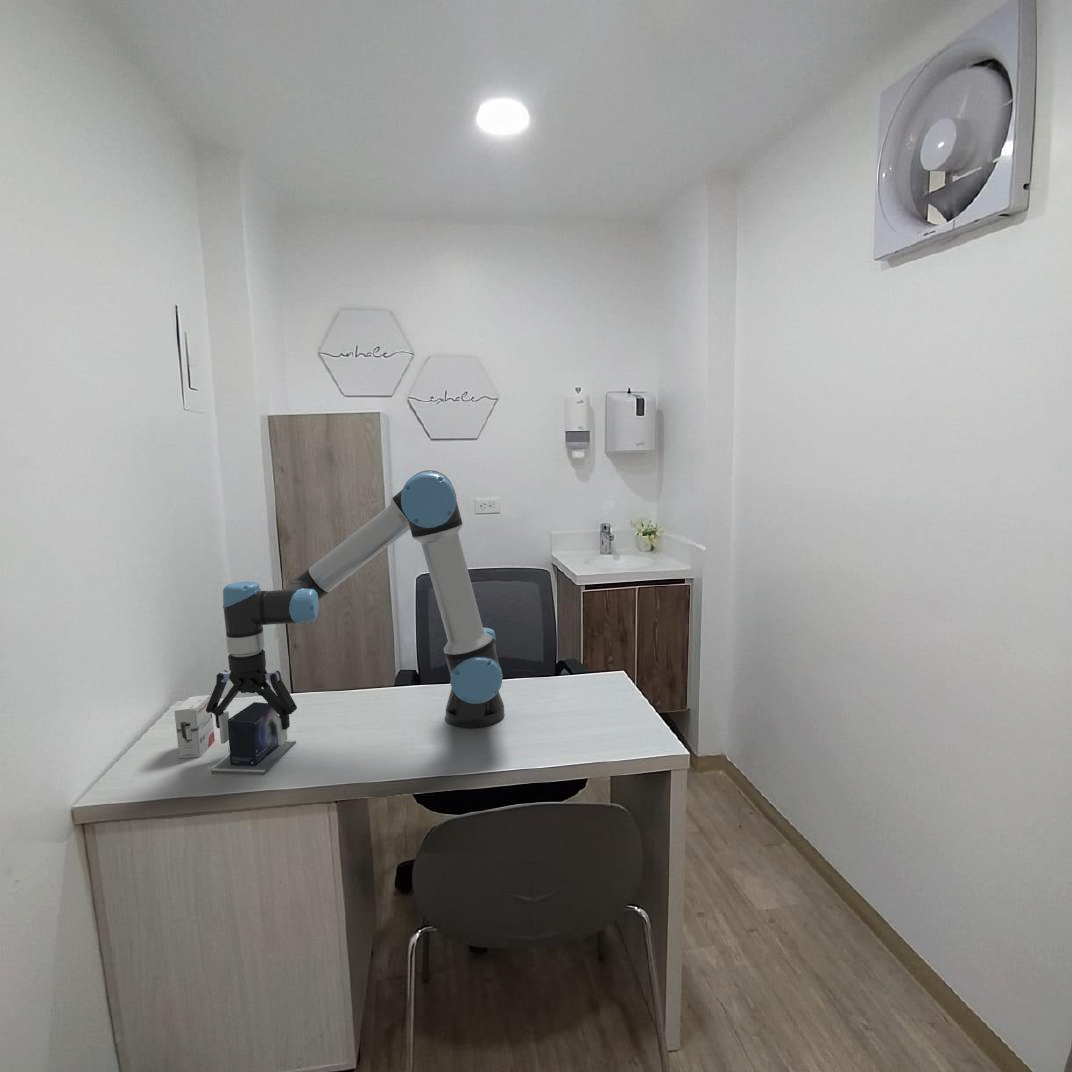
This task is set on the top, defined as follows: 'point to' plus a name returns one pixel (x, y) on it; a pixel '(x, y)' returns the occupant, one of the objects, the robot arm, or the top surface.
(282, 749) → the mat
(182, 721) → the ink box
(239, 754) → the small box
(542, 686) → the top surface
